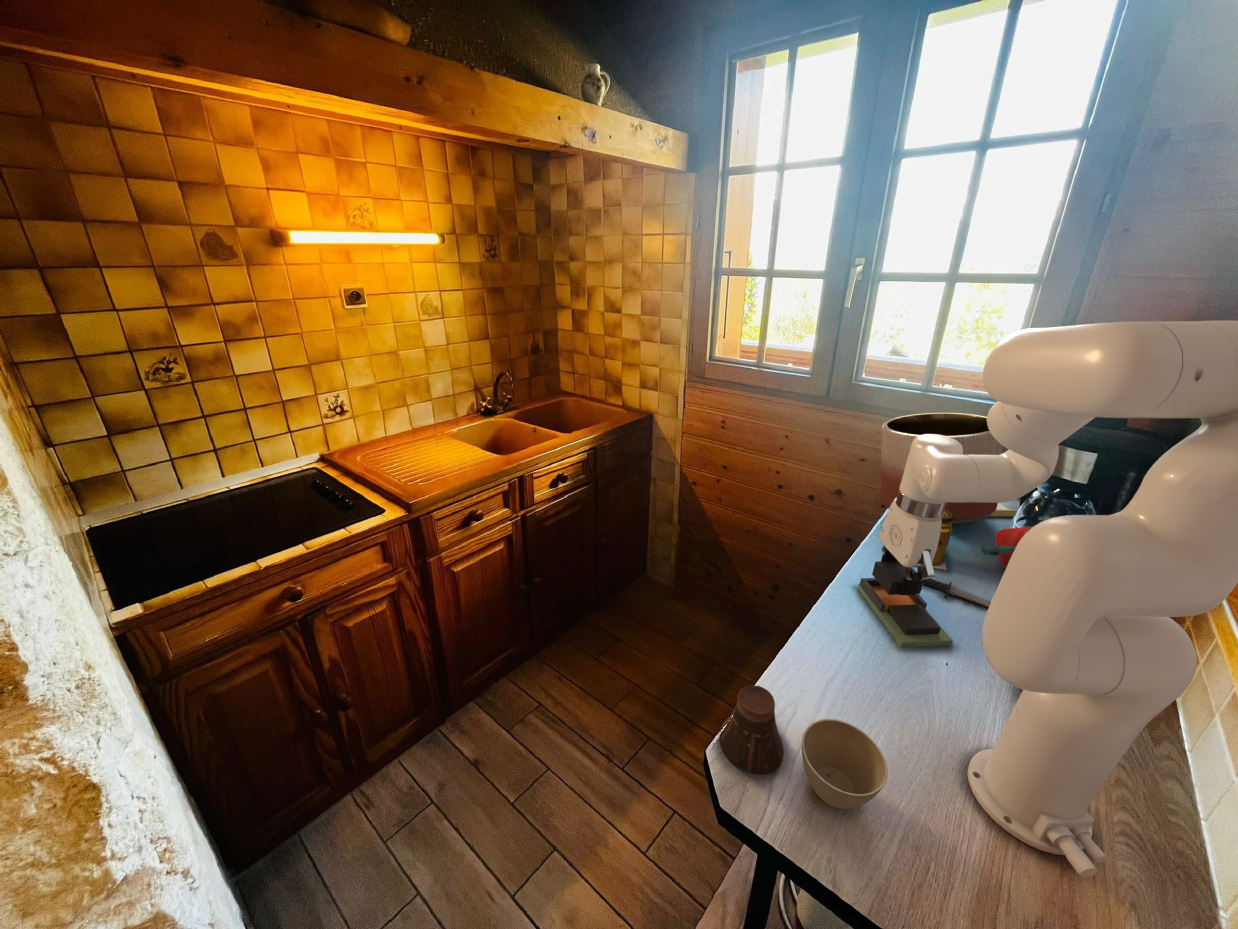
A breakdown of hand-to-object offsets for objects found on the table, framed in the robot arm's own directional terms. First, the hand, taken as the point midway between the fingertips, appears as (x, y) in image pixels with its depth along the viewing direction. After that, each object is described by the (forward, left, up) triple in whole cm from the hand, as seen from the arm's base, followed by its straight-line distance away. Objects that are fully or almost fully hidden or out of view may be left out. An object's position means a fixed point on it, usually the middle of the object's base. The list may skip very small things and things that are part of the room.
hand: (896, 581), depth 95 cm
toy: (+9, -45, 0) cm, 46 cm away
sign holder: (+31, -39, -4) cm, 50 cm away
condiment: (+14, -16, -5) cm, 22 cm away
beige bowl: (-35, +27, -5) cm, 45 cm away
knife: (+1, -15, -5) cm, 16 cm away
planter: (+32, -29, -3) cm, 44 cm away
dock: (-4, 0, -5) cm, 6 cm away
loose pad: (0, 0, -1) cm, 1 cm away
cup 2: (-29, +35, +4) cm, 46 cm away
